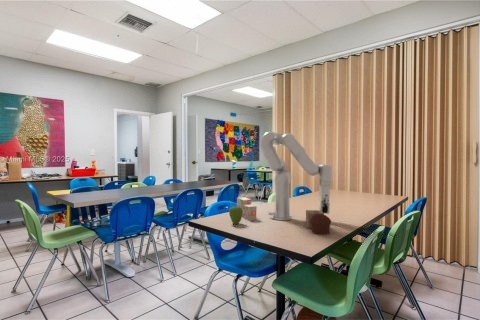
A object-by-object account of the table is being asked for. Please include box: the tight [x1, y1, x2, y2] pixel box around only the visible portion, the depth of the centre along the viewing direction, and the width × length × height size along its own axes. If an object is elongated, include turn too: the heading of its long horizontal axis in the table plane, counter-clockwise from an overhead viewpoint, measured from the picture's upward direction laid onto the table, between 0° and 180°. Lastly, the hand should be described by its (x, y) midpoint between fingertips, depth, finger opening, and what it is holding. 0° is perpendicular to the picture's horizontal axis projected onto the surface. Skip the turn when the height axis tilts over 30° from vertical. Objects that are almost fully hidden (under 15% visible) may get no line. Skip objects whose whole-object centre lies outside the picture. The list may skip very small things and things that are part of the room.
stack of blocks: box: [236, 196, 257, 221], centre depth 190 cm, size 21×6×12 cm, turn 20°
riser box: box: [305, 209, 325, 230], centre depth 162 cm, size 9×9×9 cm
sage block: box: [318, 200, 331, 215], centre depth 174 cm, size 6×6×7 cm
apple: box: [228, 205, 243, 225], centre depth 171 cm, size 9×8×12 cm
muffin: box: [310, 214, 333, 236], centre depth 150 cm, size 12×11×10 cm
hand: (323, 211), depth 174 cm, fingers closed on sage block, 5 cm apart
